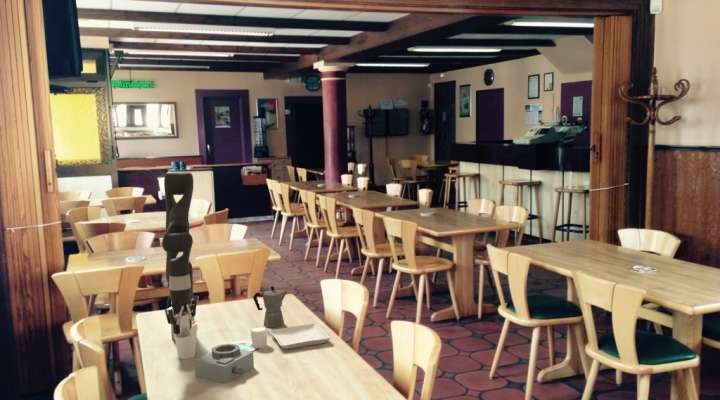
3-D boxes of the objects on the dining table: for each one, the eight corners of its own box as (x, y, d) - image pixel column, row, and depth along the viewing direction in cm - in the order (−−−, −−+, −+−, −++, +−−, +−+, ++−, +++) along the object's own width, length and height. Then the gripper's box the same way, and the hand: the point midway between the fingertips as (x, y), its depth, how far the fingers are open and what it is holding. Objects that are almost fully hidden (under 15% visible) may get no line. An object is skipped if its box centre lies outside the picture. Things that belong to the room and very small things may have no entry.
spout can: (172, 336, 231) (171, 312, 230) (182, 332, 236) (181, 308, 234) (182, 338, 228) (181, 314, 227) (193, 334, 233) (191, 310, 232)
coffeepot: (287, 320, 292) (285, 282, 290) (289, 326, 283) (288, 287, 281) (253, 323, 289) (252, 285, 286) (254, 329, 279) (253, 290, 277)
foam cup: (203, 352, 252) (201, 321, 250) (190, 361, 243) (188, 328, 242) (183, 350, 255) (181, 319, 254) (169, 358, 246) (167, 326, 245)
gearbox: (195, 376, 228) (194, 354, 227) (225, 361, 242) (224, 341, 241) (231, 384, 220) (230, 362, 219) (260, 368, 234) (259, 347, 233)
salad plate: (281, 353, 250) (281, 345, 250) (268, 337, 270) (268, 329, 270) (331, 345, 258) (331, 337, 258) (315, 330, 278) (315, 322, 277)
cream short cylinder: (264, 348, 255) (263, 332, 254) (248, 348, 256) (247, 331, 256) (270, 343, 262) (269, 326, 261) (254, 342, 263) (254, 326, 262)
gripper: (186, 281, 238) (189, 324, 240) (157, 290, 225) (160, 336, 227) (201, 283, 234) (204, 327, 236) (172, 292, 222) (175, 339, 224)
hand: (182, 331), depth 232 cm, fingers closed on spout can, 5 cm apart
